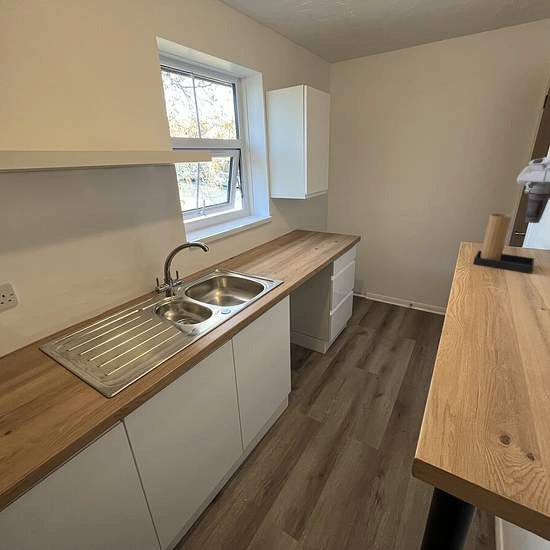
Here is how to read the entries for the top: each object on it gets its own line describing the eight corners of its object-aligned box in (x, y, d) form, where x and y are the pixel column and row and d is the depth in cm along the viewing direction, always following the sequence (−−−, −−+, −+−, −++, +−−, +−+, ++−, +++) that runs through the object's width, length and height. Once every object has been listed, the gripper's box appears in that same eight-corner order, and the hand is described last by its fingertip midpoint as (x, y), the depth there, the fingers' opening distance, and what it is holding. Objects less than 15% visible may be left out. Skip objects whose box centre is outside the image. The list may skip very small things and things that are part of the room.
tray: (532, 265, 122) (534, 258, 121) (531, 273, 114) (533, 266, 113) (477, 256, 133) (478, 250, 132) (473, 264, 125) (474, 257, 124)
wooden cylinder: (496, 260, 128) (508, 213, 121) (501, 266, 122) (514, 217, 115) (477, 259, 131) (488, 213, 123) (481, 264, 125) (493, 216, 117)
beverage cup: (521, 222, 124) (535, 171, 116) (520, 219, 129) (534, 170, 121) (544, 224, 120) (560, 171, 112) (542, 220, 125) (557, 170, 117)
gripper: (592, 172, 114) (574, 201, 113) (528, 170, 131) (511, 196, 130) (592, 160, 111) (573, 190, 110) (526, 160, 127) (509, 186, 126)
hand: (539, 193), depth 120 cm, fingers closed on beverage cup, 7 cm apart
